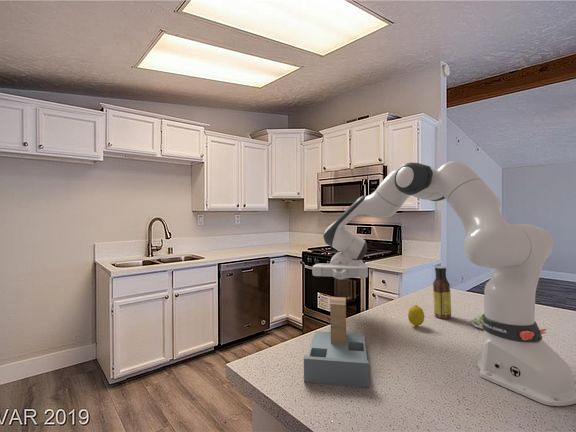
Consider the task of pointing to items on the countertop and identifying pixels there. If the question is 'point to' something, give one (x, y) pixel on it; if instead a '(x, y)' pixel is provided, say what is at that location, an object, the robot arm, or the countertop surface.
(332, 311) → the block
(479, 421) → the countertop surface
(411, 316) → the lemon
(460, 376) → the countertop surface
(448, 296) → the sauce bottle
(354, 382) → the deck
